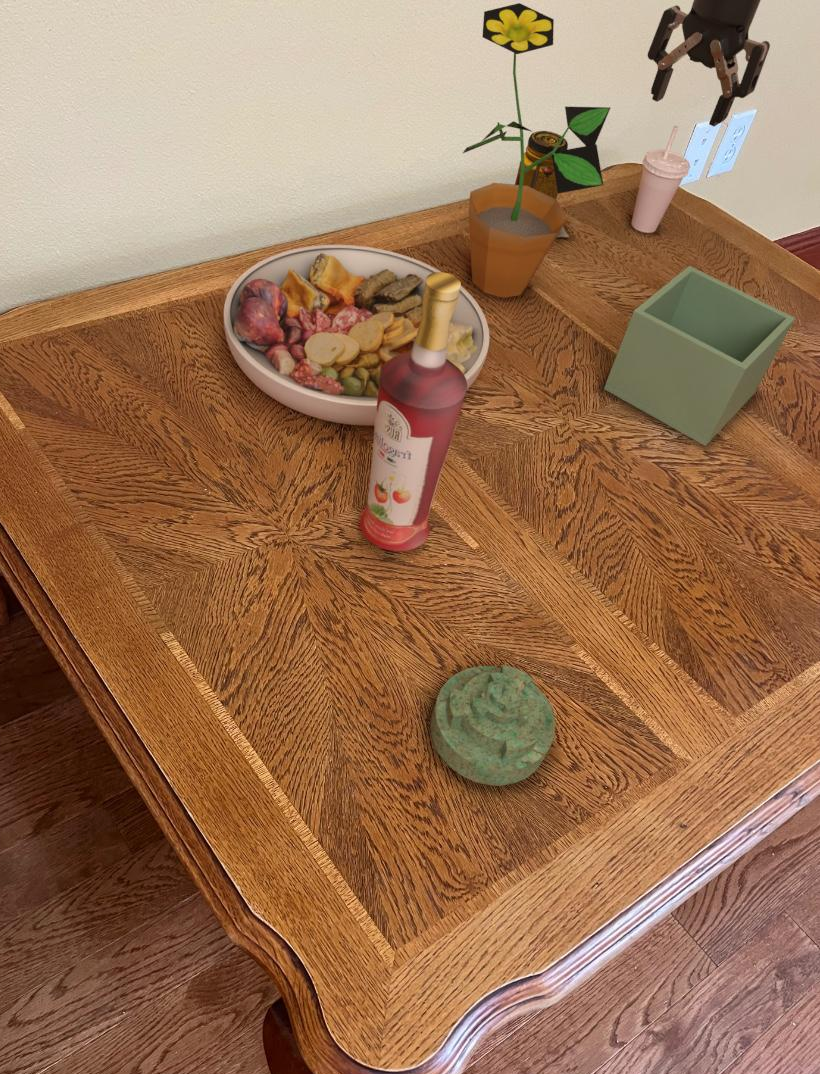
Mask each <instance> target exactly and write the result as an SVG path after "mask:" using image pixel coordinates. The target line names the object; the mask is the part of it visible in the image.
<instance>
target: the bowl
mask: <svg viewBox="0 0 820 1074" xmlns="http://www.w3.org/2000/svg"><path fill="white" fill-rule="evenodd" d="M435 272H442V270H441V271H440V270H439V269H437V268H436V267H434V266H432V265H429V264H428V263H425V262H423V261H420V260H418V259H417V258H413V257H410V256H407V255H404V254H401V253H398V252H394V251H390V250H387V249H382V248H376V247H370V246H364V245H353V244H319V245H311V246H303V247H297V248H294V249H290V250H289V249H288V250H285V251H282V252H279V253H276V254H273V255H271V256H269V257H266V258H264V259H263V260H261V261H258V262H257V263H255V264H253V265H252V266H251V267H249V268H248V269H247V270H245V271H244V272H243V273H241V275H240V276H238V278H237V279H236V280H235V281H234V283H233V284H232V285H231V287H230V289H229V290H228V293H227V295H226V297H225V301H224V305H223V328H224V335H225V339H226V342H227V346H228V349H229V350H230V353H231V355H232V357H233V359H234V360H235V362H236V364H237V365H238V367H239V369H240V370H241V371H242V372H243V374H245V376H246V377H247V378H248V379H249V380H250V381H251V382H252V383H253V384H254V385H255V386H256V387H257V388H258V389H260V390H261V391H262V392H263V393H264V394H266V395H267V396H269V397H271V399H273V400H275V401H276V402H278V403H280V404H282V405H284V406H286V407H287V408H289V409H292V410H294V411H295V412H298V413H301V414H304V415H307V416H309V417H312V418H316V419H319V420H323V421H326V422H330V423H331V422H333V423H335V424H336V423H337V424H343V425H351V426H362V427H363V426H365V427H366V426H368V427H370V426H371V427H375V417H376V408H377V400H378V390H379V379H380V372H381V369H382V367H383V365H384V364H385V363H386V362H387V361H388V360H389V359H391V358H393V357H395V356H397V355H400V354H404V353H408V352H412V349H413V345H414V342H415V339H416V335H417V332H418V329H419V325H420V322H421V319H422V315H423V305H422V298H423V293H424V287H425V282H426V278H427V276H428V275H429V274H431V273H435ZM489 347H490V328H489V325H488V321H487V319H486V315H485V314H484V311H483V309H482V308H481V307H480V305H479V304H478V302H477V301H476V300H475V298H474V297H473V296H472V294H470V293H469V292H468V290H467V289H466V288H465V287H464V286H462V285H461V287H460V291H459V296H458V300H457V305H456V308H455V310H454V312H453V315H452V317H451V320H450V327H449V336H448V345H447V354H446V359H448V360H449V361H450V362H452V363H453V364H454V365H455V366H457V367H458V368H459V369H460V370H461V372H462V373H463V374H464V376H465V378H466V381H467V391H468V390H469V389H470V388H471V387H472V385H473V384H474V383H475V381H476V380H477V378H478V377H479V375H480V373H481V371H482V369H483V367H484V365H485V363H486V359H487V355H488V352H489Z"/></svg>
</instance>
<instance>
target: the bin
mask: <svg viewBox="0 0 820 1074" xmlns="http://www.w3.org/2000/svg"><path fill="white" fill-rule="evenodd" d="M795 320H796V317H795V316H792V315H790V314H789V313H786V312H785V311H782V310H781V309H779V308H776V307H774V306H772V305H770V304H768V303H767V302H765V301H763V300H760V299H758V298H756V297H754V296H752V295H750V294H748V293H746V292H745V291H742V290H740V289H738V288H735V287H733V286H732V285H730V284H728V283H726V282H723V281H721V280H719V279H717V278H716V277H714V276H711V275H709V274H707V273H705V272H703V271H701V270H699V269H698V268H695V267H693V266H691V265H689V266H687V267H686V268H684V269H683V270H682V271H681V272H680V273H679V274H677V275H676V276H674V277H673V278H672V279H671V280H669V281H668V283H666V284H665V285H663V286H662V287H661V288H660V289H658V290H657V291H656V292H655V293H654V294H652V295H651V296H650V297H649V298H647V299H646V300H644V302H643V303H641V304H640V305H639V306H638V307H636V308H635V309H634V310H633V312H632V315H631V317H630V320H629V322H628V325H627V327H626V330H625V332H624V335H623V337H622V340H621V343H620V344H619V348H618V351H617V354H616V355H615V358H614V361H613V363H612V367H611V369H610V372H609V374H608V377H607V379H606V382H605V385H604V387H603V390H605V391H606V392H608V393H610V394H611V395H613V396H615V397H617V398H619V399H621V400H623V402H626V403H628V404H629V405H630V406H633V407H634V408H636V409H638V410H639V411H642V412H643V413H645V414H647V415H649V416H650V417H653V418H654V419H656V420H658V421H660V422H662V423H663V424H665V425H667V426H669V427H670V428H672V429H674V430H676V431H677V432H679V433H681V434H682V435H685V436H686V437H688V438H689V439H692V441H695V442H697V443H698V444H700V445H702V446H704V447H706V446H707V445H708V444H709V443H710V442H711V441H712V440H713V439H714V437H715V436H716V435H717V434H718V433H720V432H721V430H722V429H723V428H724V427H725V425H727V424H728V423H729V422H730V420H731V419H732V418H733V417H734V416H735V415H736V414H737V413H738V412H739V411H740V410H741V409H742V408H743V406H744V405H746V404H747V402H749V400H750V399H751V398H752V397H753V396H754V395H755V394H756V391H757V389H758V388H759V386H760V384H761V382H762V381H763V379H764V377H765V375H766V373H767V371H768V369H769V368H770V366H771V364H772V362H773V360H774V359H775V357H776V355H777V353H778V351H779V349H780V348H781V345H782V344H783V342H784V341H785V339H786V337H787V335H788V333H789V331H790V329H791V328H792V325H793V324H794V322H795Z"/></svg>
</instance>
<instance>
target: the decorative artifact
mask: <svg viewBox="0 0 820 1074" xmlns="http://www.w3.org/2000/svg"><path fill="white" fill-rule="evenodd" d="M533 681H534V679H533V677H531V676H530V675H529V674H527V673H525V672H524V671H522V670H520V669H518V668H516V667H513V666H510V665H507V664H502V666H493V665H478V666H473V667H468V668H466V669H463V670H461V671H459V672H457V673H455V674H454V675H452V676H451V677H449V678H448V679H447V681H446V682H445V683H444V684H443V685H442V686H441V688H440V690H439V692H438V695H437V698H436V701H435V704H434V707H433V711H432V714H431V716H430V728H429V729H430V736H431V739H432V743H433V745H434V748H435V750H436V752H437V753H438V754H439V756H440V758H441V759H442V760H443V761H444V763H445V764H446V765H447V766H448V767H450V769H452V771H454V772H455V773H457V774H458V775H460V776H461V777H463V778H466V779H467V780H470V781H472V782H475V783H477V784H481V785H486V786H498V787H499V786H508V785H512V784H516V783H520V782H521V781H524V780H525V779H528V778H529V777H530V776H532V775H533V774H534V773H535V772H536V771H537V770H538V769H539V768H540V766H541V764H542V763H543V761H544V760H545V757H546V755H547V753H548V752H549V750H550V748H551V746H552V743H553V742H554V738H555V734H556V720H555V713H554V711H553V707H552V706H551V704H550V702H549V700H548V698H547V696H545V694H544V693H543V691H542V690H541V689H540V688H539V687H538V686H537V685H536V684H535V683H534V682H533Z"/></svg>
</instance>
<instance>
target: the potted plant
mask: <svg viewBox="0 0 820 1074" xmlns="http://www.w3.org/2000/svg"><path fill="white" fill-rule="evenodd" d="M554 21H555V19H554V18H552V17H550V16H548V15H545V14H544V13H542V12H539V11H538V10H535V9H532V8H531V7H529V6H526V5H524V4H523V3H520V2H518V3H514V4H510V5H506V6H502V7H498V8H493V9H489V10H485V11H483V23H482V38H483V39H485V40H488V41H489V42H491V43H493V44H495V45H498V46H500V47H502V48H503V49H505V50H508V51H509V52H512V53H513V64H512V65H513V67H512V76H513V85H514V94H515V103H516V112H517V121H518V122H516V121H515V120H514V121H511V122H510V123H508V124H506V125H504V124H502V123H501V124H500V122H499V121H497V125H496V126H495V127H493V128H492V130H491V131H490V132H489V133H488V134H487V135H485V137H484V138H483V139H482V140H481V141H480V142H477V143H473V144H472V145H469V146H467V147H466V148H465V149H464V150H463V152H462V153H461V154H465V153H468V152H470V151H472V150H475V149H477V148H481V147H482V146H485V145H487V144H490V143H492V142H495V141H497V140H499V139H500V140H501V141H502V142H519V143H520V144H519V145H520V161H521V174H520V181H519V185H515V184H513V183H512V184H511V183H502V182H501V183H500V182H492V183H489V184H487V185H484V186H482V187H479V188H477V189H474V190H471V191H470V194H469V202H468V209H467V210H468V211H467V212H468V227H469V228H468V229H469V245H470V246H469V247H470V265H471V280H472V283H473V284H474V285H475V286H476V287H477V288H478V289H479V290H481V292H483V293H484V294H488V295H491V296H495V297H499V298H502V299H504V298H511V297H512V298H513V297H518V296H521V295H522V293H523V292H524V291H525V290H526V288H527V287H528V286H529V284H530V282H531V280H532V279H533V277H534V275H535V274H536V272H537V270H538V269H539V267H540V265H541V264H542V262H543V261H544V259H545V257H546V256H547V254H548V252H549V251H550V249H551V247H552V246H553V244H554V243H555V241H556V239H557V238H558V237H557V236H558V234H559V232H560V231H561V229H562V227H563V228H564V226H565V224H566V222H567V221H568V219H569V217H568V216H567V214H566V212H565V211H564V209H563V207H562V206H561V205H560V202H558V199H557V198H556V199H554V198H552V197H550V196H548V195H546V194H544V193H541V192H539V191H537V190H535V189H533V188H531V187H529V186H524V185H523V179H524V173H526V172H527V171H529V170H530V169H532V168H533V167H535V166H536V165H538V164H539V163H541V162H542V161H544V160H545V159H547V158H548V157H550V156H551V155H552V159H553V166H554V172H555V178H556V184H557V191H558V194H564V193H568V192H569V193H570V192H574V191H580V190H584V189H590V188H591V189H592V188H596V187H601V186H604V181H603V174H602V168H601V162H600V157H599V151H598V145H597V144H596V143H597V141H598V139H599V136H600V134H601V132H602V129H603V126H604V125H605V122H606V120H607V117H608V115H609V113H610V110H611V107H610V106H609V107H608V106H607V107H605V106H603V107H602V106H564V110H565V117H566V124H567V125H566V126H567V128H566V129H565V131H564V132H563V134H561V136H562V137H561V138H560V140H559V141H558V143H557V144H556V146H555V147H554V149H553V150H552V152H550V153H548V154H547V155H545V156H544V157H542V158H540V159H539V160H537V161H535V162H534V163H532V164H531V165H529V166H527V167H526V168H525V167H524V153H525V145H524V144H525V143H524V142H525V141H524V140H525V139H524V131H527V132H532V133H534V131H533V130H531V129H529V128H527V127H525V126H524V125H523V121H522V116H521V115H522V114H521V107H520V100H519V91H518V82H517V74H516V73H517V72H516V71H517V55H519V54H520V55H521V54H523V53H527V52H532V51H536V50H539V49H543V48H547V47H551V46H554V23H555V22H554ZM506 127H508V128H514V129H518V130H519V136H506V134H507V133H508V130H506V131H503V129H504V128H506ZM569 130H570V131H571V132H572V133H573V135H574V136H575V137H577V138H578V140H580V142H581V143H583V144H584V145H583V146H579V147H574V148H569V149H568V148H567V150H562V151H557V152H555V151H556V150H557V148H558V146H559V144H560V143H561V141H562V139H563V138H564V139H565V136H566V134H567V133H568V131H569ZM497 132H499V134H496V133H497ZM495 134H496V135H495ZM493 135H494V136H493ZM491 136H492V137H491Z"/></svg>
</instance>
